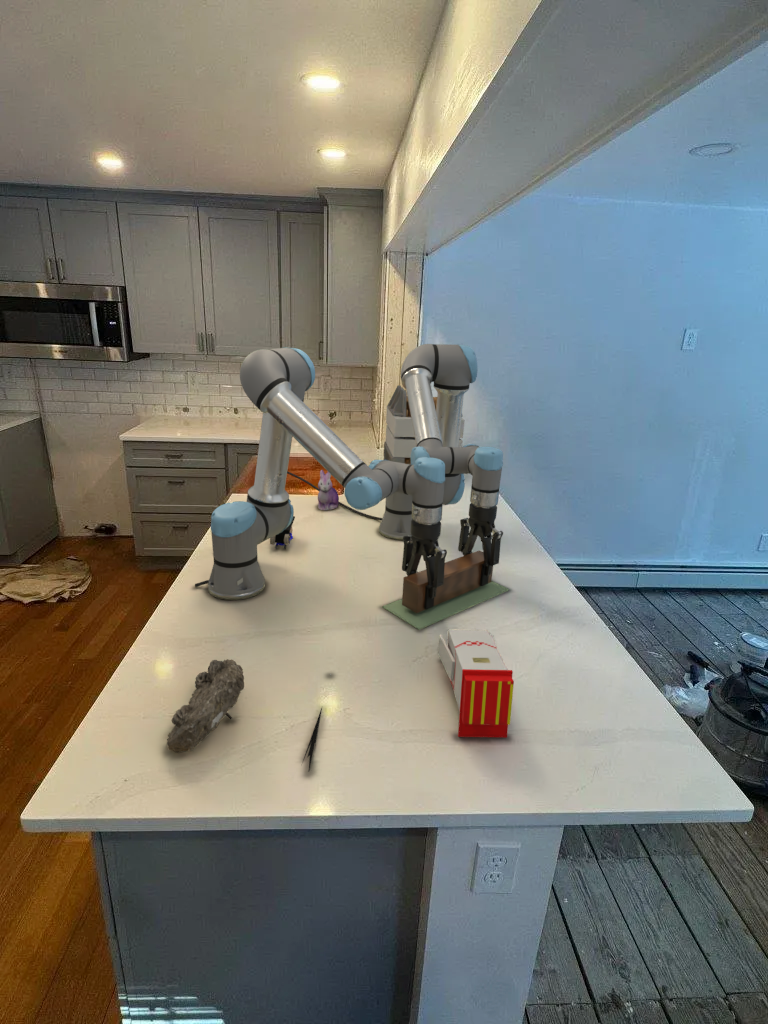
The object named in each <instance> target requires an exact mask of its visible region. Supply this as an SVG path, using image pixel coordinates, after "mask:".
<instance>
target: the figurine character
mask: <svg viewBox="0 0 768 1024" xmlns="http://www.w3.org/2000/svg"><path fill="white" fill-rule="evenodd" d="M295 519H296V516H294V515H293V519H292V522H291V524H290V525H289V526H288V527H287V528H286V529H285V530H284V531H282V532H281V533H279V534H277V535H275V536H273V537H271V538H269V545H271V546H274V549H275V550H277V549H278V547H279V546H283V548H282V549H283V550H286V549H287V546H289V544H290V541H292V539H294V536H293V525H294V521H295Z"/></svg>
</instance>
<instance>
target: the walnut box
mask: <svg viewBox="0 0 768 1024" xmlns="http://www.w3.org/2000/svg"><path fill="white" fill-rule="evenodd" d="M472 552H473V553H471V554H468V555H465V556H463V555H462V556H459V557H458V558H454V559H451V560H449V561H445V568H444V585H442V586H440V587H437V591H436V597H434V606H435V605H438V604H440V603H443V602H445V601H447V600H450V599H452V598H454V597H457V596H459V595H462V594H464V593H466V592H469V591H471V590H474V589H476V588H478V587H481V586H480V579H481V570H482V564H484V563H485V562H484V554H483V550H477V551H472ZM493 571H494V565H493V566H492V571H491V575H489V579H488V583H490V582H491V581H493V574H494V573H493ZM427 585H428V579H427V571H426V569H423V570H420V571H417V573H415V574H412V575H409V576H407V575H406V576H404V577H403V582H402V598H401V599H402V605H403V606H405V607H407V608H408V609H410V610H412V611H413V612H415V613H419V612H421V611H424V610H426V609H424V604H425V590H426V586H427Z"/></svg>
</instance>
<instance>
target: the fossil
mask: <svg viewBox="0 0 768 1024" xmlns="http://www.w3.org/2000/svg"><path fill="white" fill-rule="evenodd" d="M243 670H244V669H243V667H242V665H240V664H237V662H236V661H235V660H234V659H232V658H231V659H227V658H226V659H224V660H223V661H222V660H217V659H212V660H211V661H210V663H209V665H208V666H207V671H201V672H199V673H198V674H197V675H196V676H195V680H194V684H195V685H194V687H195V689H194V690H193V693H192V694H191V697H190V698H189V700H188V704H184V705H182V706H181V707H180V709H177V710H176V711H175V713H174V715H173V716H172V718H171V723H172V724H173V727H172V730H171V731H170V732H168V734H167V738H166V741H167V742H166V745H167V749H168V750H169V751H173V752H174V753H176V754H178V753H182V752H188V751H189V752H192V751H193V750H195V748H196V747H197V746H199V744H200V743H201V742H203V741H204V740H205V739H206V738H207V737H208V736H209V735H210V734H211V733H212V732H214V730H215V729H217V727H218V726H219V724H220V722H221V721H222V720H223V719H224V718H225V716H226V717H227V719H229V720H233V717H232V715H230V714H229V710H230V709H231V708H234V706H235V704H236V703H237V702H238V699H239V697H240V695H241V693H242V691H243V690H245V689H244V688H245V675H244V671H243Z"/></svg>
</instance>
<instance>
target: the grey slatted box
mask: <svg viewBox="0 0 768 1024" xmlns="http://www.w3.org/2000/svg"><path fill="white" fill-rule="evenodd" d="M433 400H434V405H435V409H436V406H437V396H433ZM385 414H386V415H385V423H386V428H385V438H384V442H383V460H389V461H393V462H398V463H404V464H410V465H411V451H412V449H413V448H414V447H416V442H415V436H414V430H413V425H412V419H411V414H410V408H409V402H408V397H407V391H406V389H405V388H404V387H403V386H402V385H399V384H398V385H397V386H396V388H395V390H394V392H393V394H392V395H391V398H390V400H389V402H388V404H387V405H386V413H385ZM464 429H465V419H464V418H463V415H462V416H461V425H460V435H459V445H458V447H463V442H464V441H463V440H462V439H463V438H464V431H465V430H464Z"/></svg>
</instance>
